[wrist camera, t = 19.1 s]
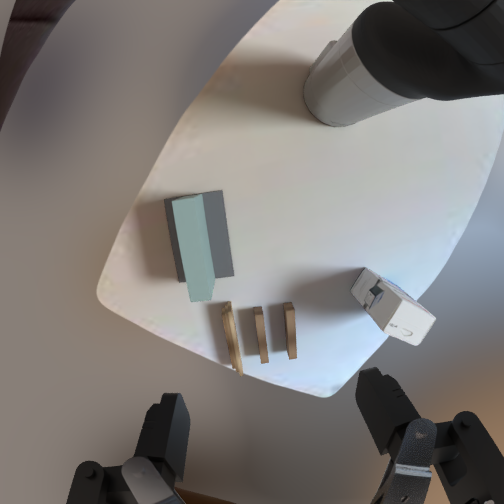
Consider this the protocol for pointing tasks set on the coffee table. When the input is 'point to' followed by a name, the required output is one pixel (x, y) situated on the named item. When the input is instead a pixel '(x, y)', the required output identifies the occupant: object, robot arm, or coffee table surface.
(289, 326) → the walnut slot block
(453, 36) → the robot arm
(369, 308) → the ink box
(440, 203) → the coffee table surface
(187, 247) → the grey-green rectangular block
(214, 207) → the rubber mat
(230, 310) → the wooden bar
